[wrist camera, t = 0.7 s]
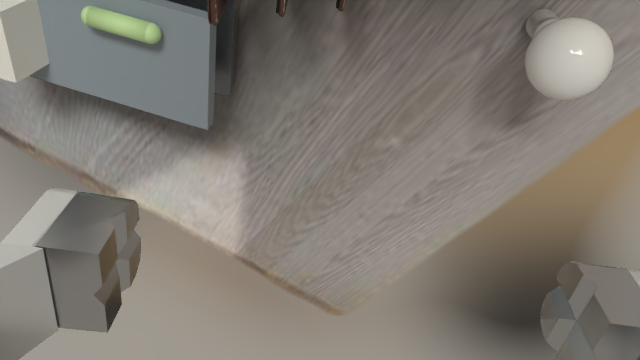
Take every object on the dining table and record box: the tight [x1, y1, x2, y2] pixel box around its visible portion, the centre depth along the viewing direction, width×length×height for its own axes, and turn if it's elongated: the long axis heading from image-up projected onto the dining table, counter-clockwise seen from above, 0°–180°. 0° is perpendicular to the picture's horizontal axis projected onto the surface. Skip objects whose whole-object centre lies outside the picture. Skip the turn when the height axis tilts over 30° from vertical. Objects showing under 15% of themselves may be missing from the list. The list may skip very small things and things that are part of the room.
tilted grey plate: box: [0, 0, 217, 130], centre depth 42 cm, size 10×20×5 cm, turn 81°
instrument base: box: [166, 0, 240, 96], centre depth 47 cm, size 10×20×3 cm, turn 81°
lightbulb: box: [525, 9, 614, 100], centre depth 43 cm, size 6×6×11 cm
